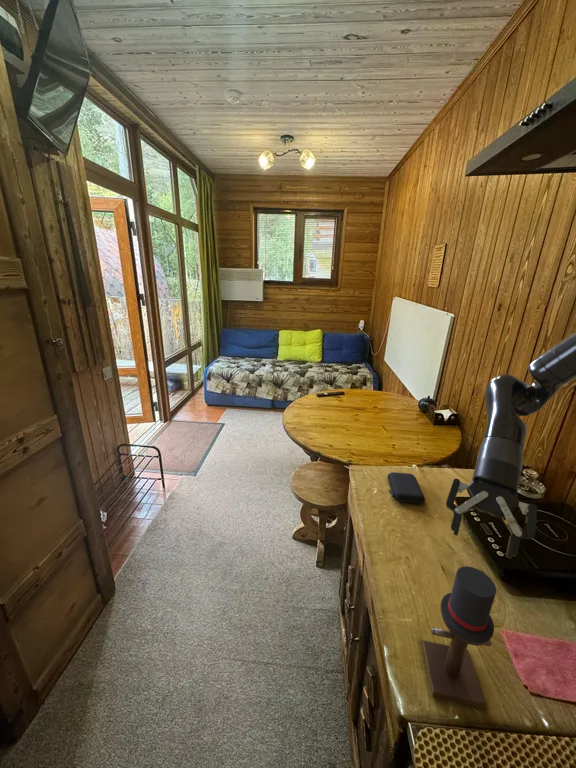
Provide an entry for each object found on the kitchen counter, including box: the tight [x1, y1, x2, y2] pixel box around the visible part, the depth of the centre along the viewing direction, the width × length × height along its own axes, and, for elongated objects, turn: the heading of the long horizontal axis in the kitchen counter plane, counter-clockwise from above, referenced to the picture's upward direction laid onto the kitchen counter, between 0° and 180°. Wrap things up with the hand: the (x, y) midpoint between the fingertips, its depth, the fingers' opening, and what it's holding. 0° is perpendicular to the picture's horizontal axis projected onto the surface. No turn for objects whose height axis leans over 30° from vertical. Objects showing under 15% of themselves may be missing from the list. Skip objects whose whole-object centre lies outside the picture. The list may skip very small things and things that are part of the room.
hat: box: [439, 565, 497, 643], centre depth 49 cm, size 8×8×8 cm
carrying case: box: [387, 471, 426, 505], centre depth 103 cm, size 11×3×15 cm
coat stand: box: [421, 615, 492, 709], centre depth 53 cm, size 9×8×14 cm
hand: (481, 545), depth 57 cm, fingers open, 8 cm apart
